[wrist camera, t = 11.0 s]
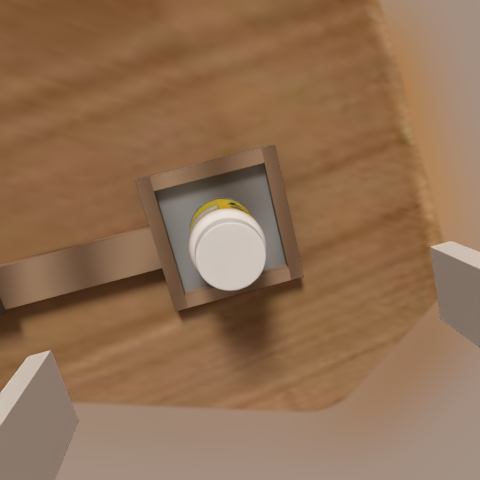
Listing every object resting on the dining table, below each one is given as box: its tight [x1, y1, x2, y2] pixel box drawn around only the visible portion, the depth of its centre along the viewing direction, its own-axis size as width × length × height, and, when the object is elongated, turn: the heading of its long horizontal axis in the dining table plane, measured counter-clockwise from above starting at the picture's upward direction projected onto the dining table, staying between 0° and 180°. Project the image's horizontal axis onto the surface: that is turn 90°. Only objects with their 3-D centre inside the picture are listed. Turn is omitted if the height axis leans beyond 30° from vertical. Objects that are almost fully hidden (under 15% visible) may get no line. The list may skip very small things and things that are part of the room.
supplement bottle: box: [189, 198, 266, 291], centre depth 28 cm, size 5×5×8 cm
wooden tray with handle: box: [0, 145, 304, 314], centre depth 31 cm, size 26×10×3 cm, turn 104°
